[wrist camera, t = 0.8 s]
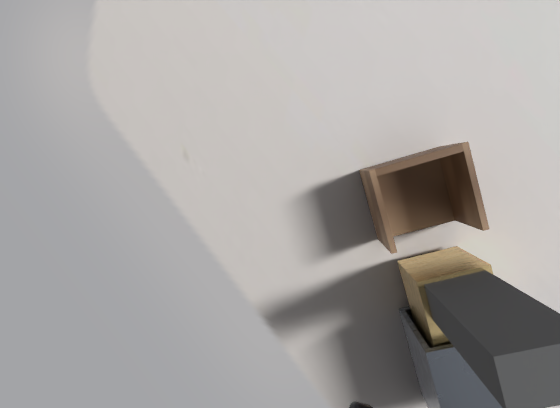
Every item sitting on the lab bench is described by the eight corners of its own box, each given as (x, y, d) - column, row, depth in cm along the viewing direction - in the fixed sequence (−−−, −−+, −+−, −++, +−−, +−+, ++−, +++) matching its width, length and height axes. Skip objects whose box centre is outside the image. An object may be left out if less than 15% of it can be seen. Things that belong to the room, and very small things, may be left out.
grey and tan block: (490, 380, 19) (661, 584, 10) (432, 391, 20) (543, 596, 10) (456, 246, 19) (607, 327, 9) (397, 260, 19) (481, 353, 10)
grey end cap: (496, 381, 20) (554, 448, 15) (422, 395, 21) (455, 464, 16) (474, 291, 19) (527, 332, 15) (398, 309, 20) (425, 353, 15)
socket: (457, 218, 19) (489, 229, 16) (377, 238, 20) (391, 253, 16) (439, 146, 19) (468, 141, 15) (359, 170, 19) (369, 170, 16)
